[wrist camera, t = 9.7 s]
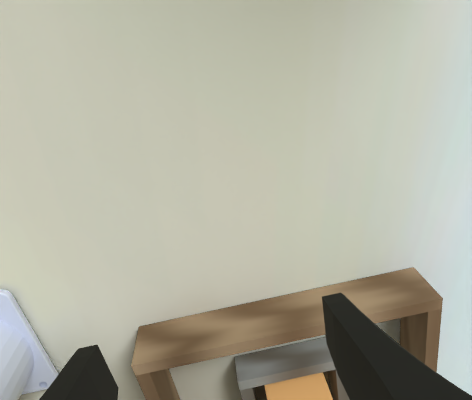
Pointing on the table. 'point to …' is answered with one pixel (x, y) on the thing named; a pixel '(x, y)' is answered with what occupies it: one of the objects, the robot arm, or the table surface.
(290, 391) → the block
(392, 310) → the walled box
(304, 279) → the table surface
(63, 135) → the table surface
